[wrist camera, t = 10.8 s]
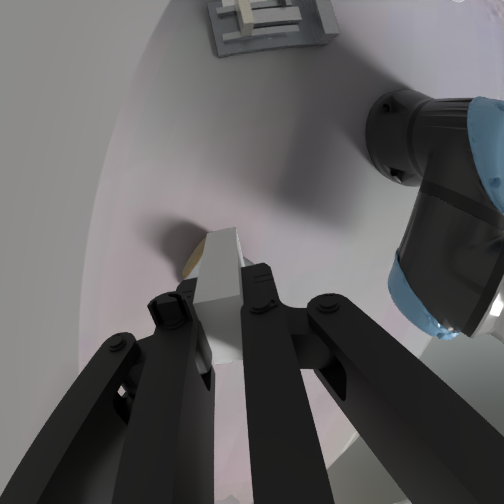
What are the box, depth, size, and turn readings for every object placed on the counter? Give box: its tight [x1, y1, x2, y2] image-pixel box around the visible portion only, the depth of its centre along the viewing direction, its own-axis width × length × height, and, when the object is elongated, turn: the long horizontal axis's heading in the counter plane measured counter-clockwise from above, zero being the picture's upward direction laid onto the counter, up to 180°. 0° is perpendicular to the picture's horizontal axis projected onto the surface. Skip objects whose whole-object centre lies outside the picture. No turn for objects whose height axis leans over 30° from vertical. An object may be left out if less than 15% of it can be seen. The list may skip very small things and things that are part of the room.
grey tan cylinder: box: [182, 237, 254, 280], centre depth 41 cm, size 11×8×8 cm
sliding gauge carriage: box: [234, 0, 302, 37], centre depth 26 cm, size 8×7×6 cm
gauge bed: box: [207, 0, 340, 58], centre depth 28 cm, size 15×9×6 cm, turn 101°
